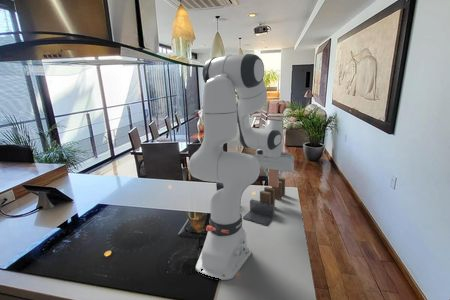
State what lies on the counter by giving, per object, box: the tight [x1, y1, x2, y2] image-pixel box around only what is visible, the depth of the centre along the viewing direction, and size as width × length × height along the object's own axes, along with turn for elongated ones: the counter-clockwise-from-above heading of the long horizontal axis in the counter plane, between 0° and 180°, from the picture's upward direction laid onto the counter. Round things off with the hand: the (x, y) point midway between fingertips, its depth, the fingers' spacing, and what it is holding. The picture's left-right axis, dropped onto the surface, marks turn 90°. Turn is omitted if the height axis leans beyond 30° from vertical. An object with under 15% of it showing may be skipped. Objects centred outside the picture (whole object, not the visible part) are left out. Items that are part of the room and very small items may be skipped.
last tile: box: [259, 190, 271, 204], centre depth 117 cm, size 2×5×10 cm, turn 56°
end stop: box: [242, 199, 276, 227], centre depth 112 cm, size 9×12×6 cm
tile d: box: [263, 186, 276, 205], centre depth 121 cm, size 2×5×10 cm, turn 56°
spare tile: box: [267, 169, 280, 188], centre depth 123 cm, size 2×5×10 cm, turn 57°
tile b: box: [271, 181, 283, 201], centre depth 129 cm, size 2×5×10 cm, turn 57°
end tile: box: [279, 177, 286, 197], centre depth 133 cm, size 2×5×10 cm, turn 56°
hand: (273, 176), depth 123 cm, fingers closed on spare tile, 5 cm apart
